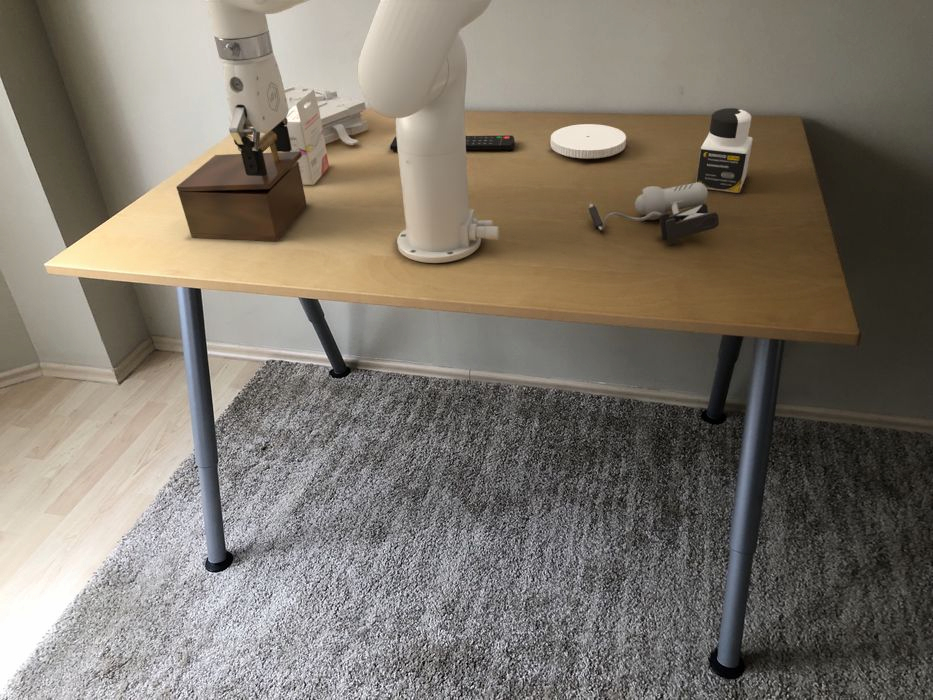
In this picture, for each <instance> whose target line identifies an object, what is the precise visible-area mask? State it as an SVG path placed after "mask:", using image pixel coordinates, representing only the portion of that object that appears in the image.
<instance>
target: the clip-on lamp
mask: <svg viewBox="0 0 933 700" xmlns="http://www.w3.org/2000/svg"><path fill="white" fill-rule="evenodd" d="M641 191H642V193H641V194H640V195H638V196H637V198H636V199H635V202H634V207H635V210H636V212H637V213H638V214H639V215H641V216H642V217H634V216H631V215H626V214H623V213H621V212H610V213H608V214H606V216H605V217H604V219H603V221H602V219H601V216H600V214H599V210H598V208H597V207H596V205H594V204H593V203H589V208H588V211H589V214H590V216H591V219H592V221H593V225H594V227H595V228H596V229H599V230H600V231H601V232H603V231H605V229H606V223H607V220H608V218H610V217H611V216H617V217H620V218H623V219H625V220H631V221H637V222H641V221H646V220H648V221H656V220H659V226H660V227H659V228H660V233H661V238H662V239H663V240H664V241H665V240H667V243H668V244H669V246H674V245H677V244H678V243H679V239H681V238H684V237H689V236H692V235H696V234H700V233H703V232H707V231H710V230H714V229H716V228H718V226H719V223H720V222H719V215H718V213H717V212H716V211H711V212H709V211H708V205H707V204H706V203H705V202H706V201H707V199H708V196H709V193H708V192H709V191H708V189H707V188H706V187H705V185H703V184H702V183H699V182H697V183H696V182H692V183H688V184H681V185H677V186H672V187H666V188H662V187H660V186H656V185H651V186H646V187H644V188H643V189H642V190H641ZM682 209H684V210H682ZM680 210H681V211H680ZM668 212H669V213H670V212H672V215H669V213H668Z"/></svg>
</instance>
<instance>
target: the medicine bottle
mask: <svg viewBox="0 0 933 700" xmlns="http://www.w3.org/2000/svg"><path fill="white" fill-rule="evenodd" d="M751 123H752V115H751V114H750V113H749V112H748V111H746V110H744V109H741V108H736V107H726V108H721V109H718V110H716V111H714V112H713V113H712V114H711V118H710V123H709V124H710V125H709V131H708V134H707V136H706V138H705V139H704V142H703V143H702V145H701V147H700V151H699V160H698V165H697V173H696V179H695V183H697V182H699V183H702V184H703V185H705V187H706V188H707V190H710V191H711V190H712V191H718V192H719V191H720V192H725V193H734V194H739V193H740V192H741V190H742V187H743V184H744V183H745V180H746V177H747V173H748V167H749V162H750V157H751V151H752V146H753V140H754V138H753V137H752V136H749V133H750V128H751Z"/></svg>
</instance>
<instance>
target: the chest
mask: <svg viewBox="0 0 933 700" xmlns="http://www.w3.org/2000/svg"><path fill="white" fill-rule="evenodd" d="M246 190H251V191H265V192H264V193H255V192H234V191H236V190H213V191H180V192H178V191H177V193H178V194H177V195H178V197H179V200H180V203H181V204H180V205H181V208H182V210H183V213H184V217H185V220H186V223H187V227H188V230H189V234H190V236H191V238H195V239H215V240H217V239H218V240H236V241H237V240H238V241H257V242H258V241H261V242H278V241H279V240H280V238H281V237H282V236H283V235H284V233H285V232H287V230H288V229H289V227H290V226H291V225H292V224H293V223H294V222H295V221H296V219H297V218H298V217H299V216H300V215H301V214H302V212H303V211H304V210H305V208H306V207H307V205H308V203H307V199H306V193H305V189H304V185H303V183H302V178H301V173H300V167H299V162H296V163H295V164H294V165H293V166H292V167H291V168H290V169H289V170H288V171H287V172H286V173H285V174H284V175H283V176H282V177H281V178H280V179H279V180H278V181H277V182H276V183H275V184H274V185H273V186H272V187H271V188H270V189H246Z"/></svg>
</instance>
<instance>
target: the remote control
mask: <svg viewBox="0 0 933 700" xmlns="http://www.w3.org/2000/svg"><path fill="white" fill-rule="evenodd" d="M465 137H466V151H469V150H471V151H472V150H515V146H516V145H515V143H516V142H515V140H516V139H515V137H514V135H465ZM389 149H390V151H398V148H397V138H396V136H394V138H393V140H392V142H391V143H390V145H389Z"/></svg>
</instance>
